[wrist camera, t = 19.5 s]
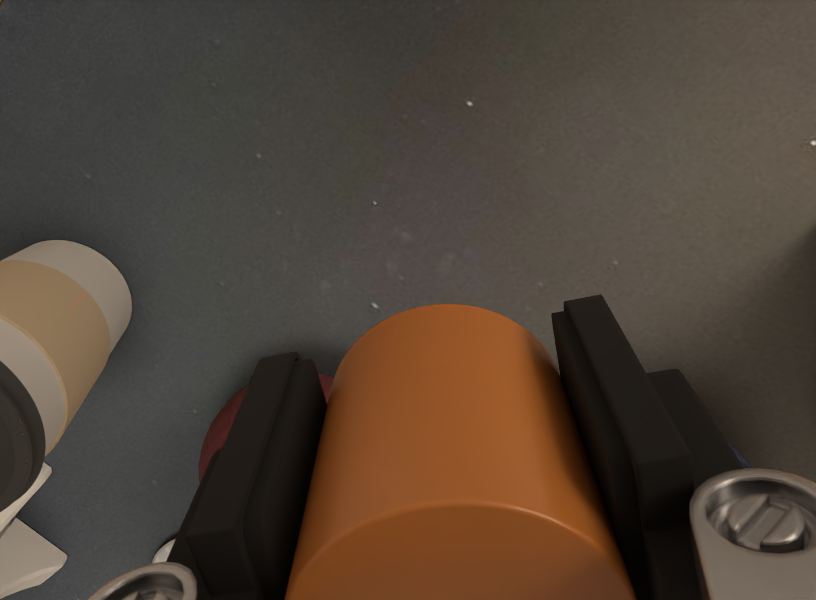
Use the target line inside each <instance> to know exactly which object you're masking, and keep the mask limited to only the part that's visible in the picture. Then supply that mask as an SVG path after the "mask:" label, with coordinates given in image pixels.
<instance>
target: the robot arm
mask: <svg viewBox="0 0 816 600" xmlns="http://www.w3.org/2000/svg"><path fill="white" fill-rule="evenodd" d="M552 324H553V330H554V337H555V344H556V350H557V357H558V363H559V370H560V376H561V381H562V384H563V386H564V389H565V392H566V395H567V398H568V401H569V404H570V407H571V410H572V412H573V415H574V418H575V421H576V424H577V427H578V430H579V433H580V436H581V439H582V441H583V444H584V447H585V450H586V453H587V456H588V459H589V462H590V465H591V467H592V470H593V473H594V476H595V479H596V482H597V485H598V488H599V491H600V494H601V496H602V499H603V502H604V505H605V508H606V511H607V514H608V517H609V520H610V522H611V525H612V528H613V531H614V534H615V537H616V540H617V543H618V546H619V549H620V551H621V554H622V557H623V560H624V563H625V566H626V568H627V571H628V574H629V577H630V579H631V582H632V585H633V588H634V591H635V594H636V597H637V600H816V483H814V482H812V481H810V480H808V479H805V478H803V477H800V476H798V475H795V474H793V473H788V472H783V471H779V470H774V469H763V468H745V469H744V467H743V466H742V464H741V463H740V461H739V460H738V458H737V457H736V455H735V454H734V452H733V451H732V449H731V447H730V446H729V444H728V443H727V441H726V440H725V438H724V437H723V435H722V434H721V432H720V431H719V429H718V428H717V426H716V425H715V423H714V421H713V420H712V418H711V417H710V415H709V414H708V412H707V411H706V409H705V408H704V406H703V405H702V403H701V402H700V400H699V398H698V397H697V395H696V394H695V392H694V391H693V389H692V388H691V386H690V385H689V383H688V382H687V380H686V379H685V377H684V376H683V374H682V373H681V372H680V371H679V370H678V369H670V370H664V371H658V372H653V373H647V374H646V372H645V371H644V369H643V367H642V365H641V364H640V362H639V360H638V358H637V356H636V355H635V353H634V351H633V349H632V348H631V346H630V344H629V342H628V340H627V339H626V337H625V335H624V333H623V332H622V330H621V328H620V326H619V324H618V323H617V321H616V319H615V317H614V316H613V314H612V312H611V310H610V308H609V307H608V305H607V303H606V301H605V300H604V298H603V296H602V295H596V296H591V297H585V298H580V299H574V300H569V301H564V311H562V312H557V313H552ZM326 409H327V402H326V398H325V395H324V392H323V389H322V385H321V382H320V379H319V375H318V372H317V369H316V366H315V363H314V361H313V360H312V359H311V358H310V359H304V360H302V358H301V357H300V355H299V354H298V353H297V352H291V353H286V354H281V355H275V356H270V357H265V358H261V359H260V360H259V362H258V365H257V367H256V369H255V372H254V374H253V376H252V379H251V381H250V383H249V386H248V388H247V390H246V393H245V395H244V398H243V400H242V402H241V405H240V407H239V409H238V412H237V414H236V416H235V419H234V421H233V424H232V426H231V428H230V431H229V433H228V435H227V438H226V440H225V442H224V445H223V447H222V448H220V449H218V450H216V451H215V453H214V454H213V456H212V457H211V460H210V462H209V464H208V466H207V469H206V471H205V473H204V476H203V478H202V480H201V482H200V485H199V487H198V489H197V492H196V494H195V496H194V498H193V501H192V503H191V505H190V508H189V510H188V512H187V514H186V517H185V519H184V521H183V524H182V526H181V528H180V530H179V533H178V535H177V537H176V540H175V542H174V544H173V546H172V549H171V551H170V553H169V556H168V558H167V560H166V562H158V563H152V564H146V565H143V566H140V567H138V568H135V569H132V570H129V571H127V572H125V573H123V574H122V575H120V576H118V577H116V578H114V579H113V580H111V581H109V582H108V583H106V584H105V585H104V586H103V587H102V588H100V589H99V590H98V591H97V592H95V593H94V594H93V595H92V596H91V597H90V598H89V599H88V600H285V595H286V591H287V586H288V582H289V577H290V573H291V568H292V563H293V559H294V554H295V550H296V545H297V541H298V536H299V532H300V527H301V523H302V518H303V514H304V509H305V504H306V500H307V495H308V491H309V486H310V482H311V477H312V473H313V468H314V464H315V459H316V455H317V450H318V445H319V441H320V436H321V432H322V427H323V423H324V418H325V414H326Z"/></svg>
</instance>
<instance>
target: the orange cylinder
mask: <svg viewBox="0 0 816 600" xmlns="http://www.w3.org/2000/svg"><path fill="white" fill-rule="evenodd" d="M285 600H637V597H636V594H635V591H634V588H633V585H632V582H631V579H630V577H629V574H628V571H627V568H626V566H625V563H624V560H623V557H622V554H621V551H620V549H619V546H618V543H617V540H616V537H615V534H614V531H613V528H612V525H611V522H610V520H609V517H608V514H607V511H606V508H605V505H604V502H603V499H602V496H601V494H600V491H599V488H598V485H597V482H596V479H595V476H594V473H593V470H592V467H591V465H590V462H589V459H588V456H587V453H586V450H585V447H584V444H583V441H582V439H581V436H580V433H579V430H578V427H577V424H576V421H575V418H574V415H573V412H572V410H571V407H570V404H569V401H568V398H567V395H566V392H565V389H564V386H563V384H562V381H561V377H560V375H559V372H558V369H557V367H556V365H555V363H554V361H553V360H552V358H551V356H550V354H549V353H548V352H547V350H546V349H545V348H544V346H543V345H542V344H541V343H540V342H539V341H538V340H537V339H536V338H535V337H534V336H533V335H532V334H531V333H530V332H529V331H527V330H526V329H525V328H523V327H522V326H520V325H519V324H518V323H516V322H514V321H512V320H510V319H509V318H507V317H505V316H503V315H500V314H497V313H495V312H492V311H490V310H486V309H482V308H478V307H474V306H468V305H460V304H437V305H428V306H422V307H418V308H414V309H409V310H407V311H404V312H401V313H399V314H396V315H393V316H391V317H390V318H388V319H386V320H384V321H382V322H380V323H378V324H377V325H376V326H374V327H373V328H371V329H370V330H368V331H367V332H366V333H365V334H364V335H363V336H362V337H360V338H359V339H358V340H357V341H356V342H355V343H354V345H353V346H352V347H351V348H350V349H349V351H348V352H347V353H346V355H345V356H344V358H343V360H342V361H341V363H340V365H339V367H338V369H337V372H336V374H335V376H334V379H333V383H332V387H331V391H330V396H329V400H328V405H327V409H326V414H325V418H324V423H323V427H322V432H321V436H320V441H319V445H318V450H317V455H316V459H315V464H314V468H313V473H312V477H311V482H310V486H309V491H308V495H307V500H306V504H305V509H304V514H303V518H302V523H301V527H300V532H299V536H298V541H297V545H296V550H295V554H294V559H293V563H292V568H291V573H290V577H289V582H288V586H287V591H286V595H285Z"/></svg>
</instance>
